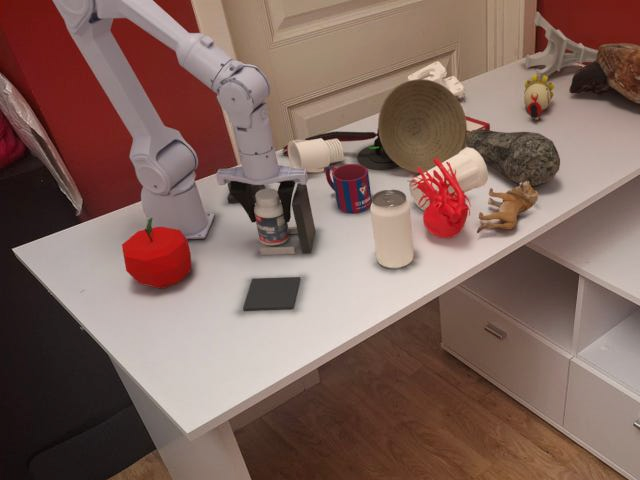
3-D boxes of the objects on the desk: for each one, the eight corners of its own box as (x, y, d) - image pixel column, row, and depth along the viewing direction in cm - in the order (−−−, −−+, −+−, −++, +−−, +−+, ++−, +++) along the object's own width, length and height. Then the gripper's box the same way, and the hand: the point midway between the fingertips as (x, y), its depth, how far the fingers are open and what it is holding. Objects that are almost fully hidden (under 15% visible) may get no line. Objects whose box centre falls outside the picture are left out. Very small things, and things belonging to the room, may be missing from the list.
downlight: (299, 185, 144) (343, 175, 148) (303, 163, 138) (349, 154, 142) (283, 154, 145) (327, 145, 150) (287, 131, 139) (333, 123, 144)
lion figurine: (496, 168, 131) (542, 180, 131) (493, 190, 136) (538, 201, 135) (474, 221, 123) (524, 234, 123) (472, 242, 128) (520, 255, 127)
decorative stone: (484, 151, 151) (456, 173, 146) (480, 108, 144) (450, 130, 139) (570, 178, 141) (542, 203, 136) (570, 133, 134) (540, 158, 129)
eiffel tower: (524, 64, 187) (625, 78, 195) (537, 83, 177) (643, 97, 185) (536, 11, 178) (641, 28, 186) (550, 28, 168) (661, 45, 177)
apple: (191, 293, 115) (172, 242, 108) (125, 297, 114) (102, 246, 107) (204, 256, 123) (187, 207, 116) (142, 260, 122) (121, 210, 115)
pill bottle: (253, 241, 124) (244, 197, 118) (270, 227, 128) (263, 183, 122) (278, 249, 123) (270, 204, 117) (295, 235, 126) (288, 190, 120)
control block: (228, 203, 136) (224, 189, 134) (234, 187, 140) (231, 174, 138) (259, 202, 136) (256, 188, 134) (264, 187, 140) (261, 173, 138)
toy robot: (376, 175, 143) (369, 118, 135) (346, 153, 150) (338, 99, 142) (424, 157, 148) (420, 102, 140) (393, 137, 155) (388, 84, 147)
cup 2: (420, 174, 126) (480, 145, 133) (399, 175, 133) (456, 147, 139) (436, 216, 130) (493, 185, 136) (414, 215, 136) (470, 186, 142)
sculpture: (583, 133, 175) (666, 129, 157) (561, 68, 166) (646, 55, 148) (622, 101, 182) (705, 94, 163) (602, 36, 173) (689, 21, 154)
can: (385, 273, 119) (377, 212, 110) (371, 254, 123) (363, 193, 115) (419, 263, 121) (415, 202, 113) (405, 244, 125) (399, 184, 117)
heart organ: (428, 251, 121) (440, 186, 114) (400, 219, 129) (410, 157, 122) (477, 248, 126) (491, 185, 119) (447, 218, 134) (459, 158, 127)
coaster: (243, 310, 112) (242, 308, 111) (252, 280, 118) (252, 278, 117) (293, 309, 112) (293, 306, 112) (300, 279, 118) (300, 276, 117)
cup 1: (352, 217, 132) (347, 184, 127) (319, 198, 137) (314, 166, 132) (379, 203, 135) (375, 171, 131) (346, 186, 140) (341, 154, 136)
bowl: (370, 83, 144) (377, 74, 137) (455, 89, 150) (467, 81, 142) (372, 175, 147) (379, 171, 140) (456, 178, 153) (467, 174, 145)
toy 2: (548, 95, 155) (555, 67, 165) (516, 96, 156) (525, 68, 167) (549, 126, 160) (556, 97, 170) (518, 126, 161) (527, 97, 172)
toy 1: (288, 169, 151) (284, 148, 151) (380, 138, 146) (375, 116, 147) (282, 165, 148) (278, 144, 149) (376, 133, 144) (371, 111, 145)
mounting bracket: (457, 70, 164) (417, 91, 165) (467, 95, 168) (427, 115, 169) (445, 56, 173) (406, 76, 174) (455, 80, 177) (417, 99, 178)
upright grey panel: (260, 255, 123) (247, 205, 116) (267, 233, 128) (255, 184, 121) (310, 253, 123) (300, 203, 116) (315, 231, 128) (306, 182, 121)
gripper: (304, 135, 116) (316, 206, 125) (216, 135, 115) (234, 207, 125) (298, 155, 111) (311, 228, 120) (206, 156, 110) (226, 229, 120)
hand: (271, 219), depth 122 cm, fingers closed on pill bottle, 5 cm apart
